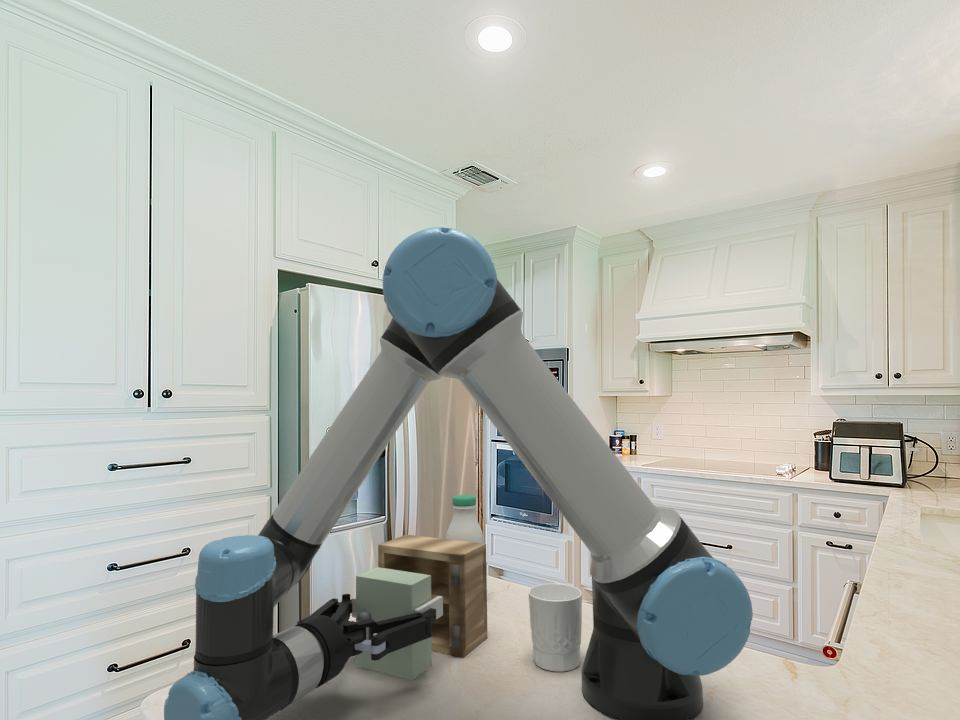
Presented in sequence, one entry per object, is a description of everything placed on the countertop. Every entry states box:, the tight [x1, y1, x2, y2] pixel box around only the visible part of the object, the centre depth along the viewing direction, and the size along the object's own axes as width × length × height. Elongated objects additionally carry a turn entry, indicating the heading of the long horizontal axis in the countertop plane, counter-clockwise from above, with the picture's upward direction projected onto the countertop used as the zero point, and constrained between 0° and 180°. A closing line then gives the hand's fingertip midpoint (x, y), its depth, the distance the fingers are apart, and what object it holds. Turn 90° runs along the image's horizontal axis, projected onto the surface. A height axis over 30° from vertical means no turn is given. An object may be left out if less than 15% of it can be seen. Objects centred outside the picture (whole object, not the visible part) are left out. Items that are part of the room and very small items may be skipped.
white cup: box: [528, 582, 583, 673], centre depth 82 cm, size 8×8×10 cm
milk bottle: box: [445, 494, 485, 544], centre depth 110 cm, size 8×8×20 cm
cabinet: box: [377, 534, 488, 658], centre depth 91 cm, size 16×9×15 cm, turn 62°
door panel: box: [355, 566, 433, 681], centre depth 82 cm, size 10×6×13 cm, turn 62°
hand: (410, 599), depth 86 cm, fingers open, 10 cm apart
